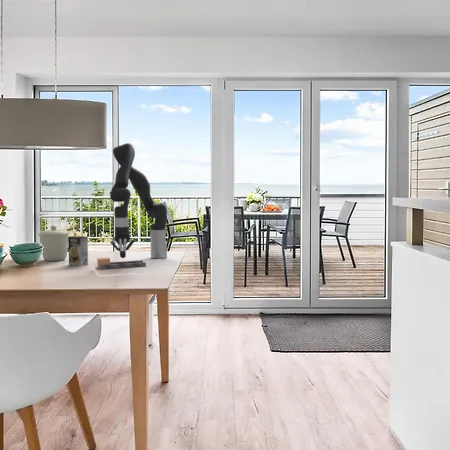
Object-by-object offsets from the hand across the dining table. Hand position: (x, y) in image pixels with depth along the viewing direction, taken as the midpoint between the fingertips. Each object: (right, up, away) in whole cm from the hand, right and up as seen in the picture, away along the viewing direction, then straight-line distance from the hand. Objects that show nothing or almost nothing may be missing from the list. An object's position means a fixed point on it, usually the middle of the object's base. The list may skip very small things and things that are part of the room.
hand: (122, 258), depth 272 cm
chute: (0, -6, 0) cm, 6 cm away
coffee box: (-28, -5, +14) cm, 31 cm away
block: (-9, -5, -3) cm, 11 cm away
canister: (-48, -4, +33) cm, 58 cm away
